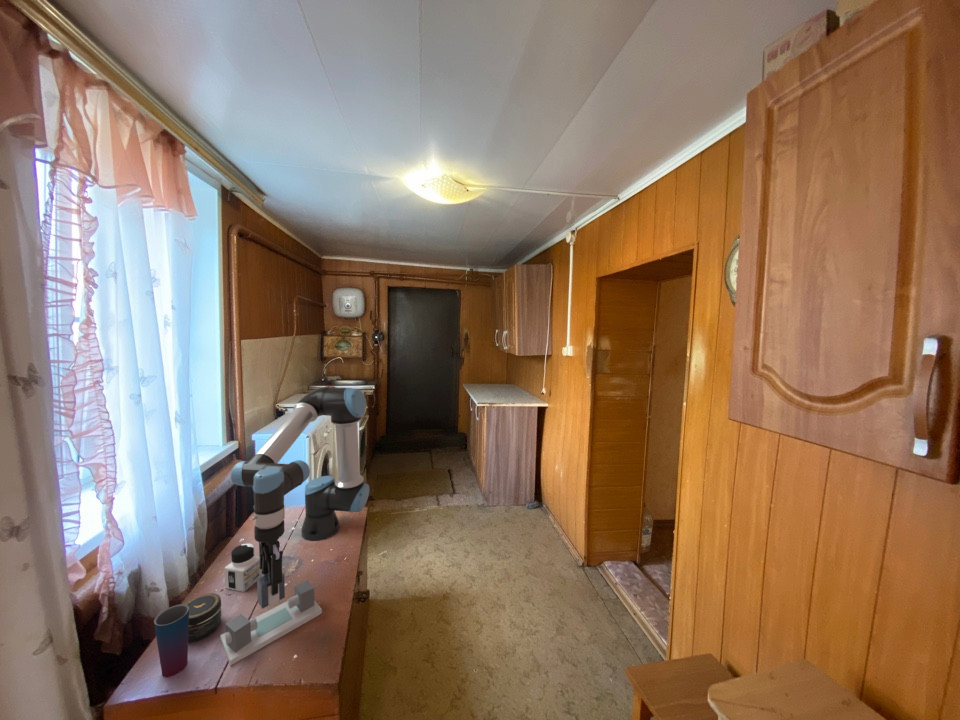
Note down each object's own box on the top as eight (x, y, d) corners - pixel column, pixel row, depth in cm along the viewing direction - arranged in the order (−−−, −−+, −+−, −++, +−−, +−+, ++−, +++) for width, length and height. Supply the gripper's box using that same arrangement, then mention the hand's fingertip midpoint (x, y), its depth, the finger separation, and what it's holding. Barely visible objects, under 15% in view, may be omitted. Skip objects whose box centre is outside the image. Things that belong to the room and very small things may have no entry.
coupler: (262, 609, 101) (261, 585, 100) (257, 601, 103) (257, 578, 103) (284, 597, 105) (284, 575, 104) (280, 590, 108) (279, 568, 107)
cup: (196, 664, 93) (193, 611, 92) (163, 686, 87) (160, 630, 86) (185, 651, 97) (182, 600, 95) (152, 672, 91) (149, 617, 89)
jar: (225, 628, 104) (224, 604, 104) (182, 651, 97) (180, 625, 96) (217, 610, 111) (216, 587, 110) (175, 629, 103) (174, 605, 103)
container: (244, 592, 118) (242, 556, 117) (224, 588, 120) (223, 552, 119) (262, 576, 126) (261, 542, 125) (244, 573, 127) (242, 539, 126)
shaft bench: (307, 594, 118) (307, 573, 117) (321, 613, 110) (321, 590, 110) (220, 640, 100) (219, 615, 100) (230, 665, 93) (229, 639, 92)
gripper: (246, 516, 105) (247, 590, 107) (264, 540, 94) (266, 622, 96) (273, 507, 111) (275, 578, 113) (294, 529, 99) (295, 607, 101)
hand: (271, 598), depth 104 cm, fingers closed on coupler, 4 cm apart
